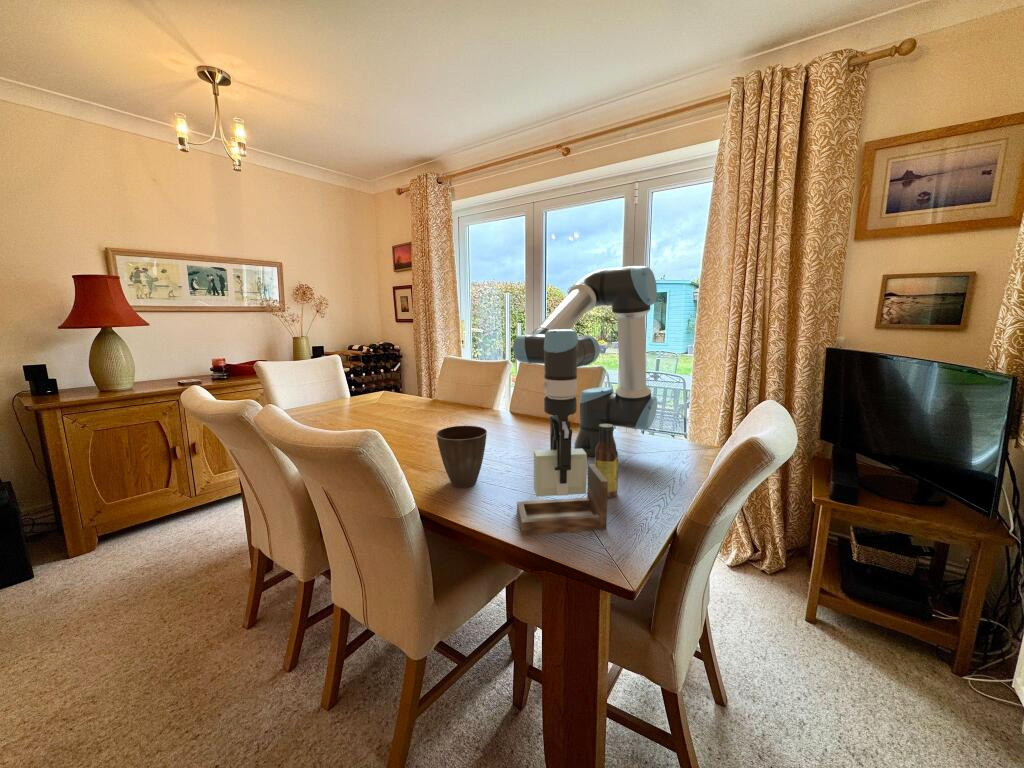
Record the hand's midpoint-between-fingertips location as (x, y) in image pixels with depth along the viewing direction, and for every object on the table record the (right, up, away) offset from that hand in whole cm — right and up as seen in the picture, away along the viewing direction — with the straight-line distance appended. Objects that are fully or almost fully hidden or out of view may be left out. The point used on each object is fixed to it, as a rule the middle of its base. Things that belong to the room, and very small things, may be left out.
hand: (559, 489), depth 99 cm
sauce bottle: (+15, -5, +16) cm, 22 cm away
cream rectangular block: (0, 0, 0) cm, 0 cm away
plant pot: (-26, -4, +25) cm, 36 cm away
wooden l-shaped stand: (0, -8, +1) cm, 8 cm away
